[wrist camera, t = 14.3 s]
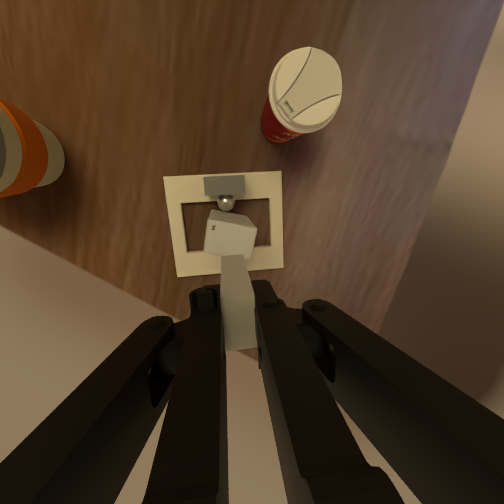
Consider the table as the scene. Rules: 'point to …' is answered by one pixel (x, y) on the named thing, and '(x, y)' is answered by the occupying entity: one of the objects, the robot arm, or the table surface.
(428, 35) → the table surface
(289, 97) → the paper cup
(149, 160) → the table surface
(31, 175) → the reusable coffee cup
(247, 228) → the skincare box
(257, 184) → the socket board
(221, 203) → the silver metal knob
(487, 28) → the table surface
